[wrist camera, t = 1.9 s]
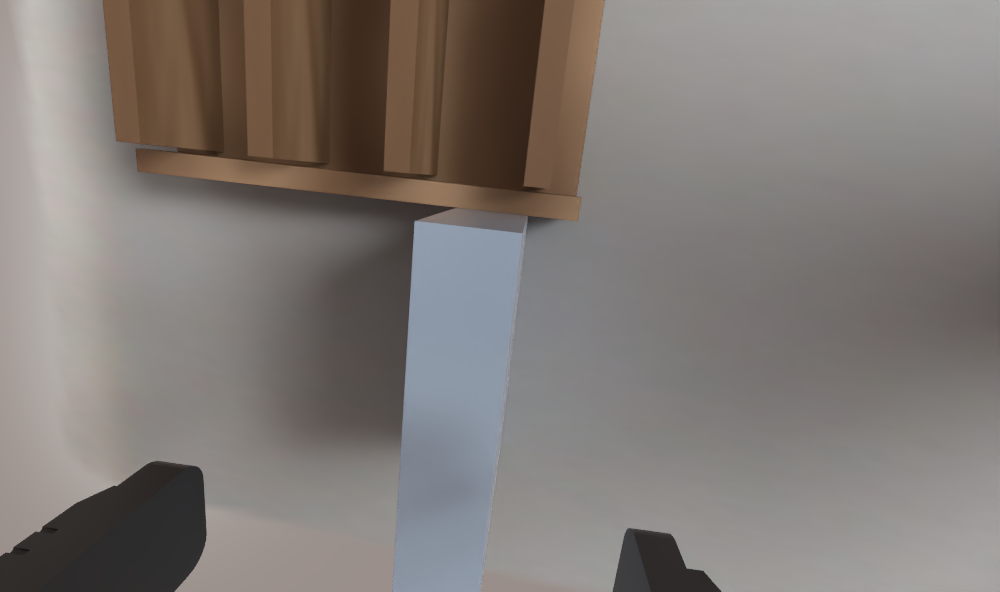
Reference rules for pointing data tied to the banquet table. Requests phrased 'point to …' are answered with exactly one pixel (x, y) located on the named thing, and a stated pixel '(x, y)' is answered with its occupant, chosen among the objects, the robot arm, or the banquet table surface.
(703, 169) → the banquet table surface
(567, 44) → the rack
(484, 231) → the light blue flat block
